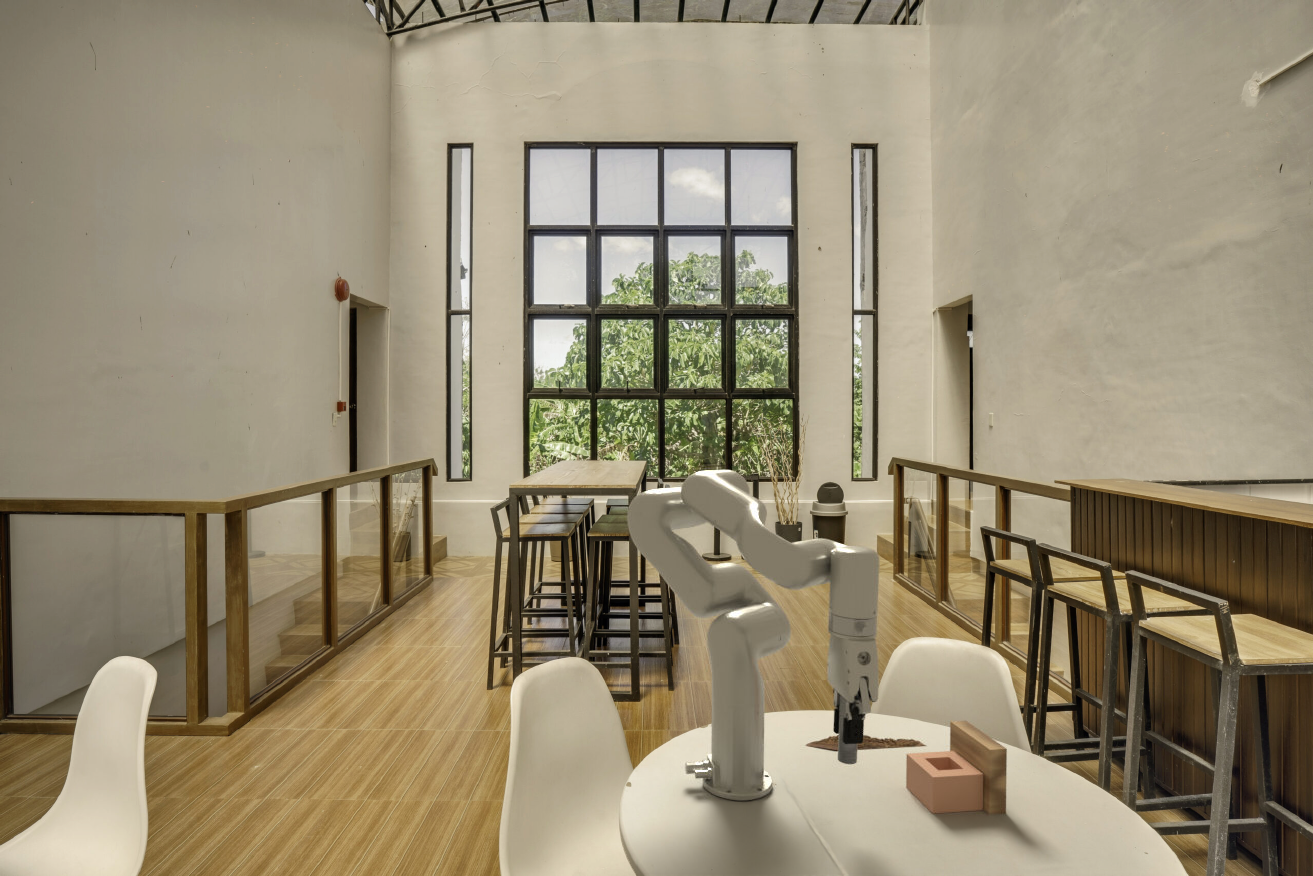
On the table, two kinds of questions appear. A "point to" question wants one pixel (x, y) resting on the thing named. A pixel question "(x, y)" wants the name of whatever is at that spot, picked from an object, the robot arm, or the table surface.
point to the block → (944, 782)
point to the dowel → (845, 751)
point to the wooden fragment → (868, 743)
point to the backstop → (983, 762)
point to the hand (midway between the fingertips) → (847, 736)
